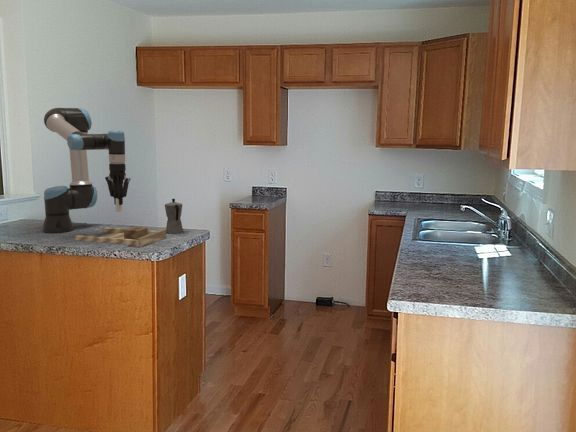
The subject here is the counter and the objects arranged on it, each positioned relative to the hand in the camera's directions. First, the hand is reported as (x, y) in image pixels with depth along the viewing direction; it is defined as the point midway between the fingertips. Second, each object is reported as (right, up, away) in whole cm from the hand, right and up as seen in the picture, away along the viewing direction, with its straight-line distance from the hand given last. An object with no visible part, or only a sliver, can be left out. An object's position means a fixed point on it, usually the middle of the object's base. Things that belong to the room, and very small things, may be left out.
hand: (118, 211), depth 261 cm
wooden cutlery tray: (+1, -14, +2) cm, 14 cm away
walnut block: (+9, -14, -1) cm, 16 cm away
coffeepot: (+23, -11, +20) cm, 32 cm away
